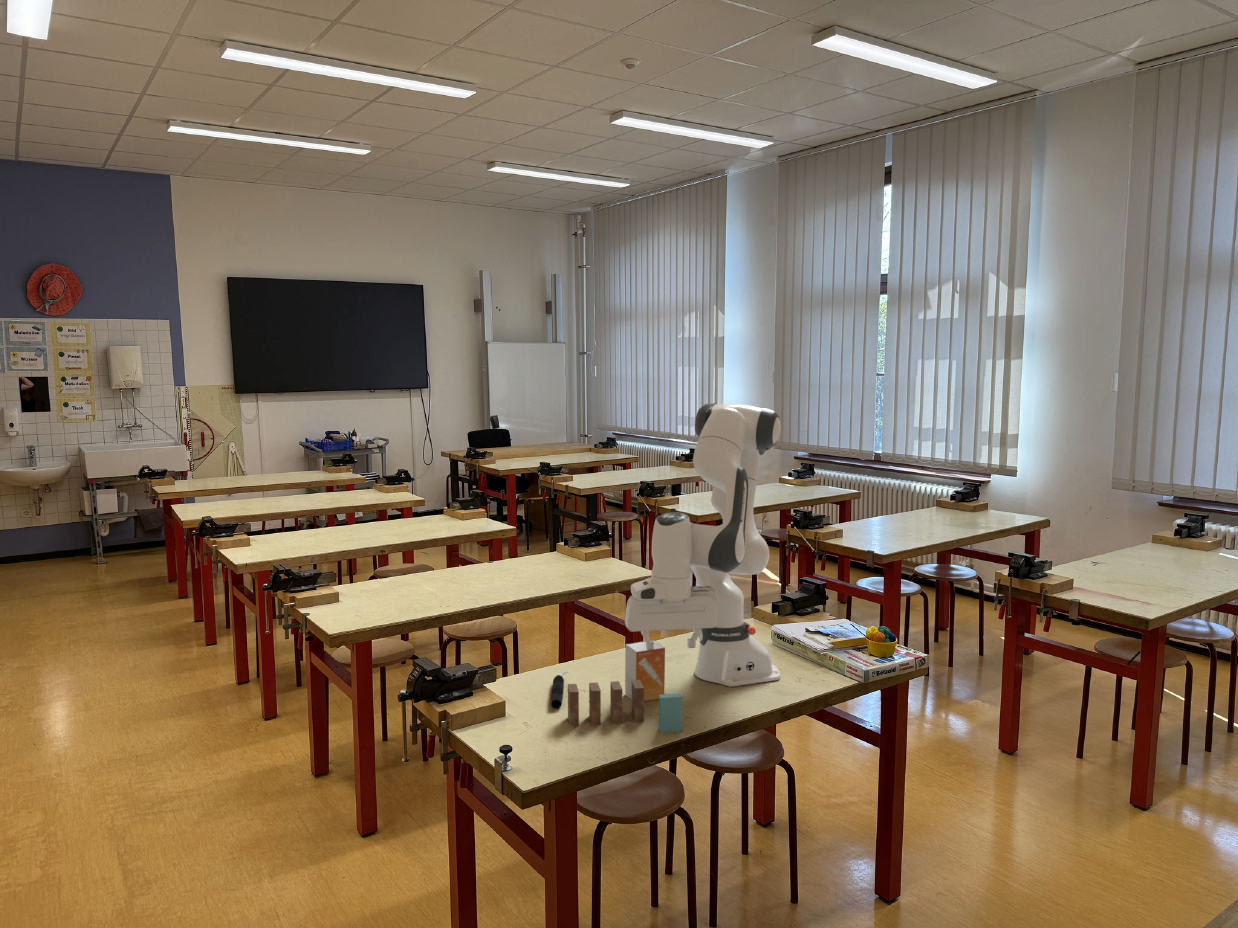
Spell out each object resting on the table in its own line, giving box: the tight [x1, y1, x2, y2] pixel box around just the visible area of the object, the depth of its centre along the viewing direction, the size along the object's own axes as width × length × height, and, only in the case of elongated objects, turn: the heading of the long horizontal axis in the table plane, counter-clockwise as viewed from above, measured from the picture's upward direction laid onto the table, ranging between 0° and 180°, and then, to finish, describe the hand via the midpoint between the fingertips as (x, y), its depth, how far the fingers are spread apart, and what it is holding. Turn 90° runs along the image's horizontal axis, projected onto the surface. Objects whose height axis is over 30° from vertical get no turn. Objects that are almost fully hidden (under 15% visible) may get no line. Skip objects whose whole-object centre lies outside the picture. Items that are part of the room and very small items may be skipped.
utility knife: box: [550, 671, 570, 709], centre depth 209 cm, size 22×4×3 cm, turn 2°
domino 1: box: [567, 683, 580, 727], centre depth 191 cm, size 2×5×8 cm, turn 9°
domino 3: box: [609, 680, 623, 724], centre depth 193 cm, size 2×5×8 cm, turn 9°
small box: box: [624, 639, 666, 702], centre depth 206 cm, size 8×6×13 cm
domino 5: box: [657, 693, 684, 734], centre depth 186 cm, size 2×5×8 cm, turn 99°
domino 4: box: [631, 680, 645, 723], centre depth 193 cm, size 2×5×8 cm, turn 9°
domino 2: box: [588, 681, 602, 726], centre depth 192 cm, size 2×5×8 cm, turn 9°
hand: (670, 648), depth 185 cm, fingers open, 8 cm apart
